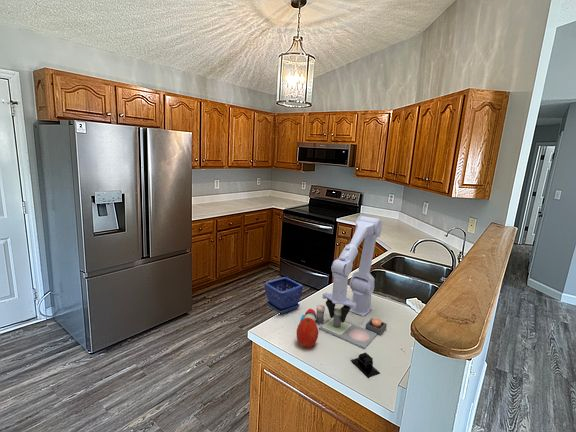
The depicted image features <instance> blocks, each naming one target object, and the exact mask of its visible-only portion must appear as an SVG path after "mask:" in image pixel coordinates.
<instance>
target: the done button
mask: <svg viewBox="0 0 576 432" xmlns="http://www.w3.org/2000/svg"><path fill="white" fill-rule="evenodd" d="M372 318H373V317H372ZM372 318H371V319H372ZM381 322H383V321H382V319H380V318H375V317H374V318H373V319H372V326H374V327H377V328H379V327H381Z"/></svg>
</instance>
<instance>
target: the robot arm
mask: <svg viewBox="0 0 576 432" xmlns="http://www.w3.org/2000/svg"><path fill="white" fill-rule="evenodd" d="M382 228H383V222H382V220H381V219H380V218H377V217H371V216H365V215H361V214H360V215H359V216H358V217H357V219H356V221H355V231H354V233H353V236H352V238H351V240H350V242H349V244H348V243H347V244H345V246H344V248H343V249H342V250H341V253H340V255H339V257H338V258H337V259H335V260H333V261H332V264H331V267H330V268H331V269H330V270H331V272H332V277H333V279H332V280H333V281H332V293H328V292H323V293H322V299H326V301H325V306H326V307H327V309H328V310H327V311H328V313H329V319H331V318H332V317H334V309H335V308H336V305H342V306H341V307H340V309H341V314H342V316H341V322H342V323H343V322H344V321H346V319H347V316H348V313H349V312H352V313H354V314H357V315H359V316H362V317H365V316H367V314H369V312H370V311H372V310H373V307H371V306H372V305H371V304H372V294H373V292H374V290H375V281H376V280H375V277H374V276H373V275H372V274H371V268H372V262H373V258H374V252H375V248H376V242H377V238H379V237H380V236H381V233H382ZM362 242H363V245H362V252H361V257H360V260H359V266H358V271H355V272H353V273H352V276H351V278H350V281H349V276H350V275H351V272H352V269H353V266H354V264H353V263H354V261H355V259H356V257H357V255H358V253H359V250H358V248H359V247H360V245H361V243H362ZM348 282H349V288H350V289H351V292H352V299H348V298H347V294H348Z"/></svg>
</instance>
